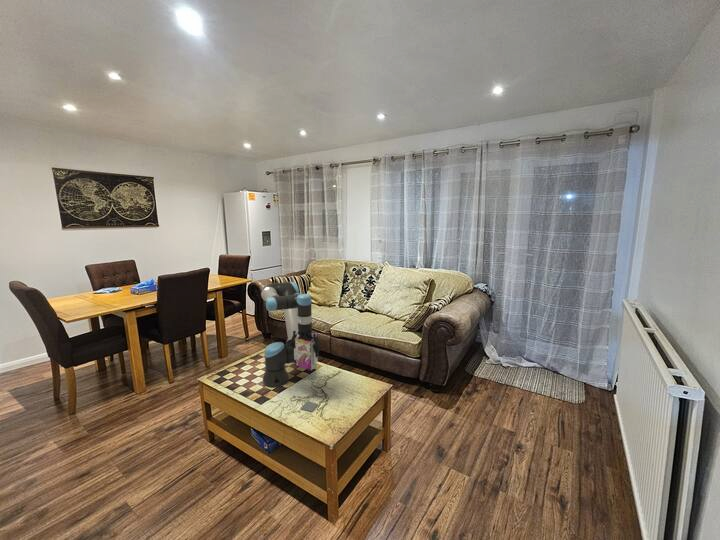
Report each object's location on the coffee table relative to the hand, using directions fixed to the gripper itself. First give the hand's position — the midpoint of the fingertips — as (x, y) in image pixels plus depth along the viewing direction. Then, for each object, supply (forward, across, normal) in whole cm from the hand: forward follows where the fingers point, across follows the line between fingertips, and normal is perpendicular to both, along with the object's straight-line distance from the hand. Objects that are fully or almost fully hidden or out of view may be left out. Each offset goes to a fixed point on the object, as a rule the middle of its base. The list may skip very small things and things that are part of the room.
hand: (305, 360), depth 168 cm
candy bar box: (+4, 0, 0) cm, 4 cm away
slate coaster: (+21, +7, -9) cm, 24 cm away
